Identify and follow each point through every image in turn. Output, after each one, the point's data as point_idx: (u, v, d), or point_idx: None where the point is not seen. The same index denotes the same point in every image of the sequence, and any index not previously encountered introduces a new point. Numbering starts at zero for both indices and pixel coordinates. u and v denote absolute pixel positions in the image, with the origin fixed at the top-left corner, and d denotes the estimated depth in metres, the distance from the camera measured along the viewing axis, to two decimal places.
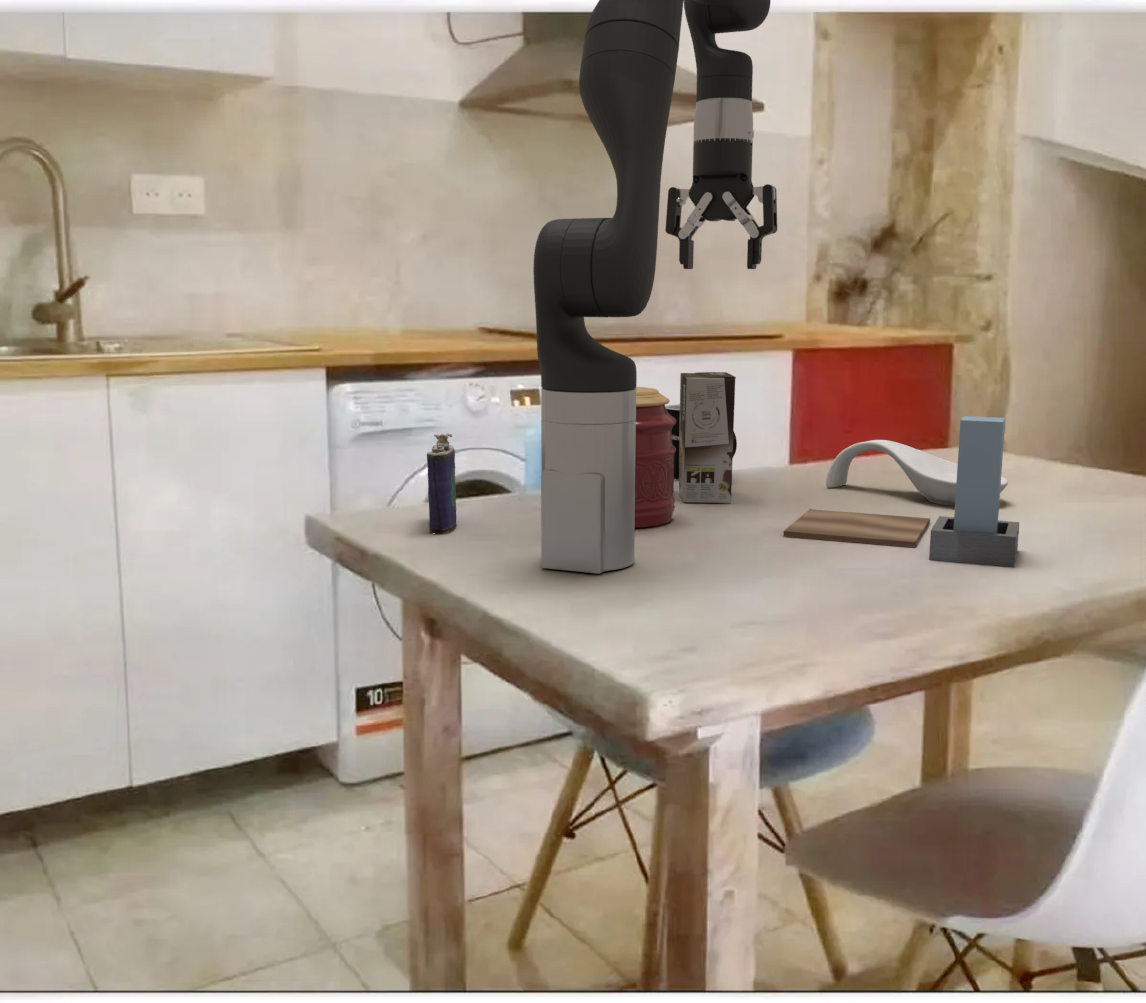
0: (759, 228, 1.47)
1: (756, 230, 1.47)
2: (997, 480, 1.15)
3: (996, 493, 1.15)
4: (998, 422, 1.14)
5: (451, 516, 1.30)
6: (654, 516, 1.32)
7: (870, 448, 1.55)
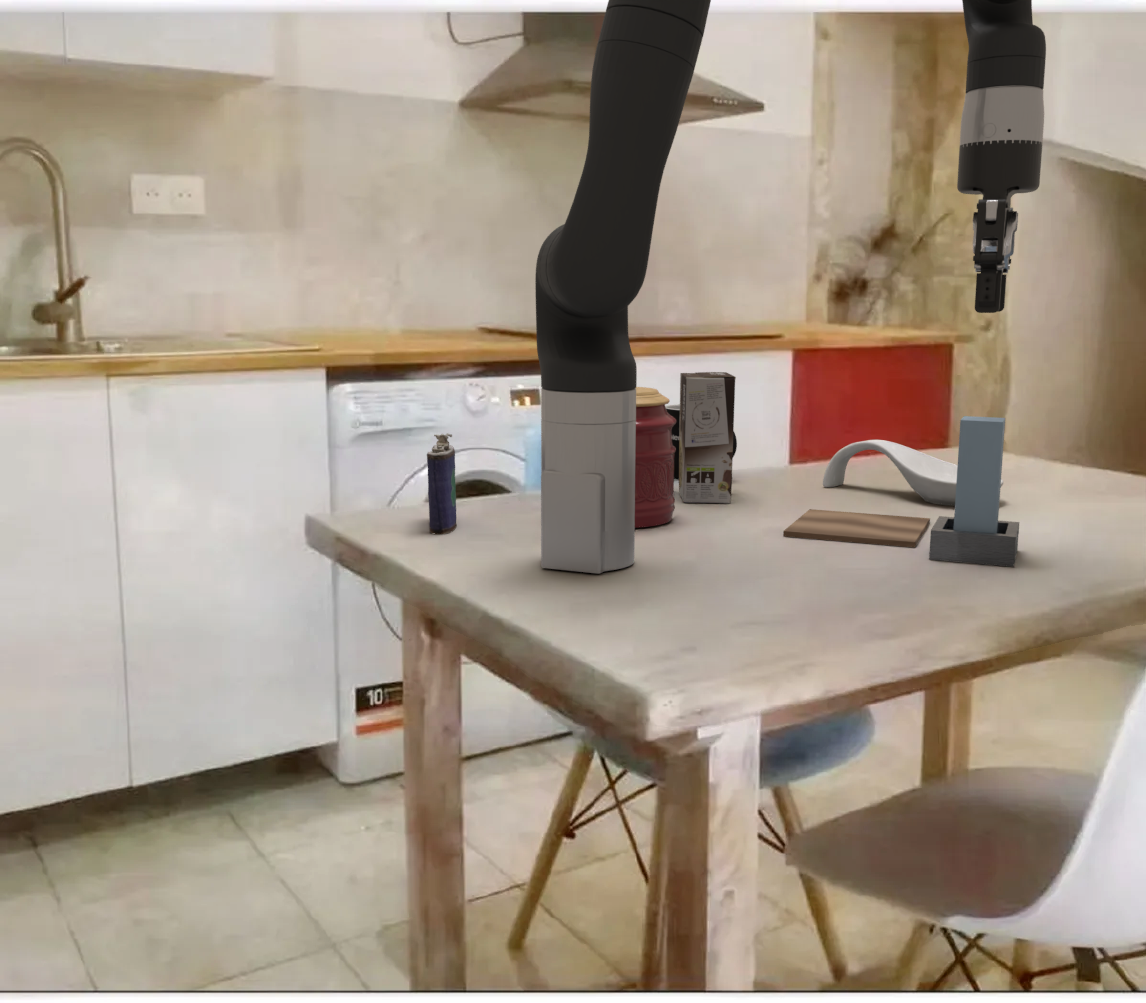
0: None
1: (1008, 263, 1.18)
2: (997, 480, 1.15)
3: (996, 493, 1.15)
4: (998, 422, 1.14)
5: (451, 516, 1.30)
6: (654, 516, 1.32)
7: (866, 448, 1.55)
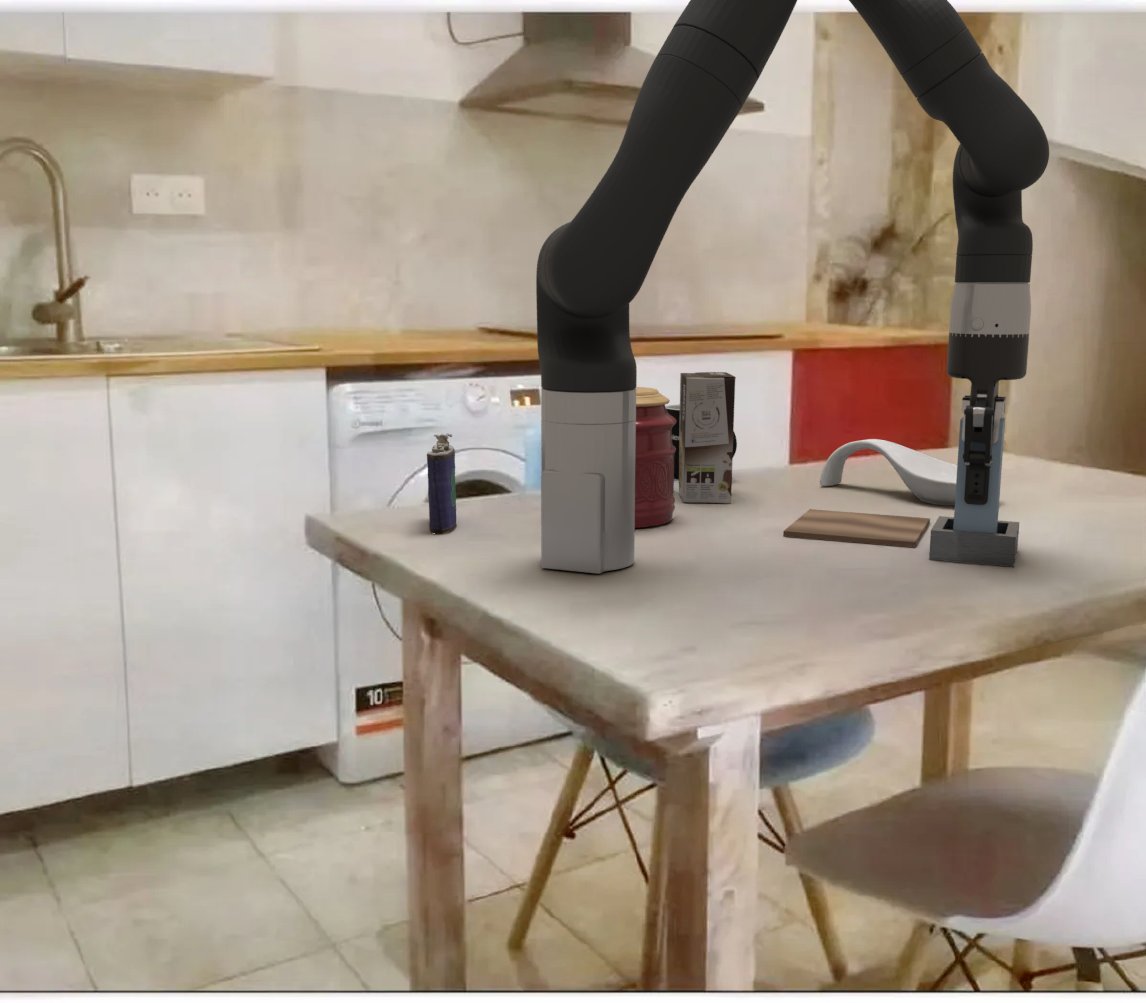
0: None
1: None
2: (997, 480, 1.15)
3: (996, 493, 1.15)
4: None
5: (451, 516, 1.30)
6: (654, 516, 1.32)
7: (863, 447, 1.55)
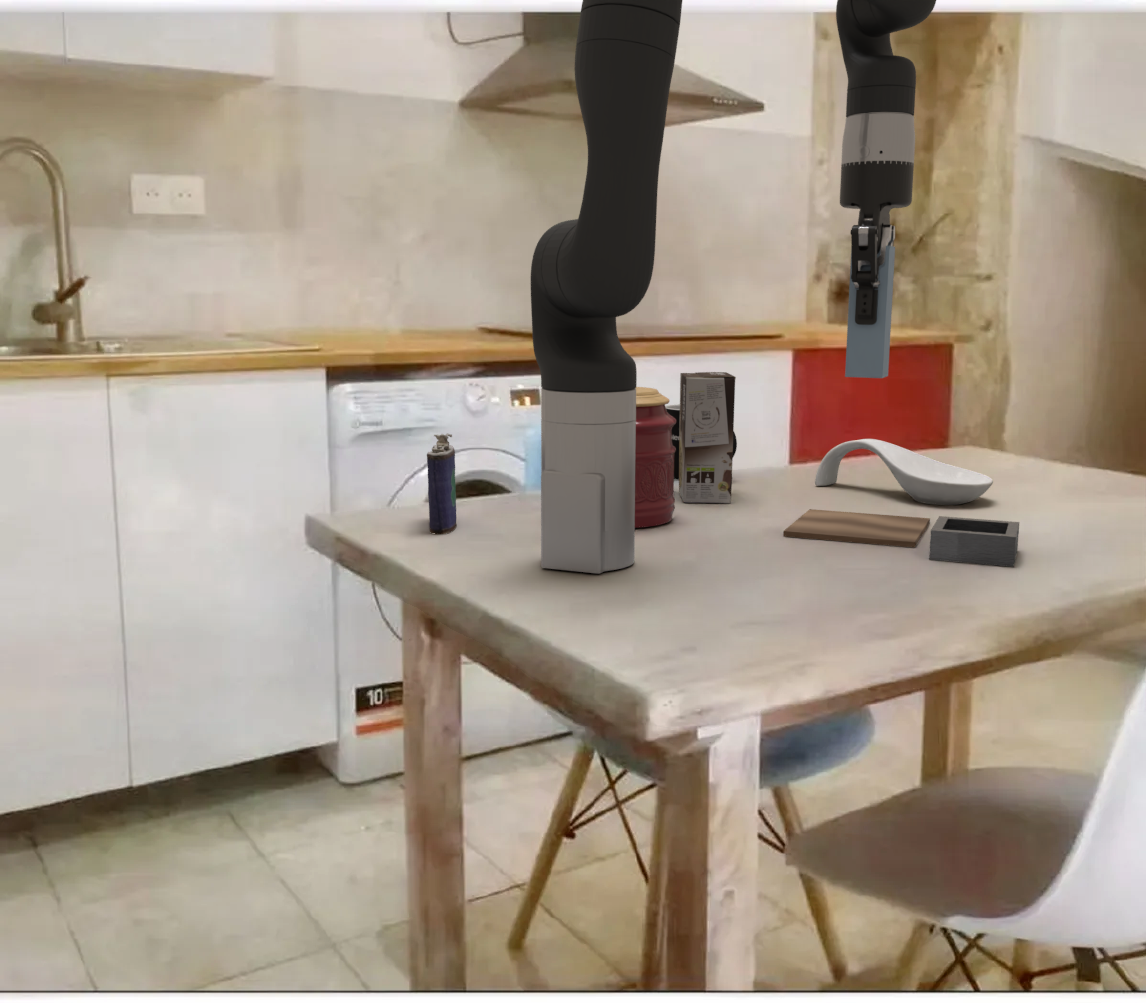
0: None
1: None
2: (885, 301, 1.24)
3: (884, 313, 1.24)
4: None
5: (451, 516, 1.30)
6: (654, 516, 1.32)
7: (858, 447, 1.56)
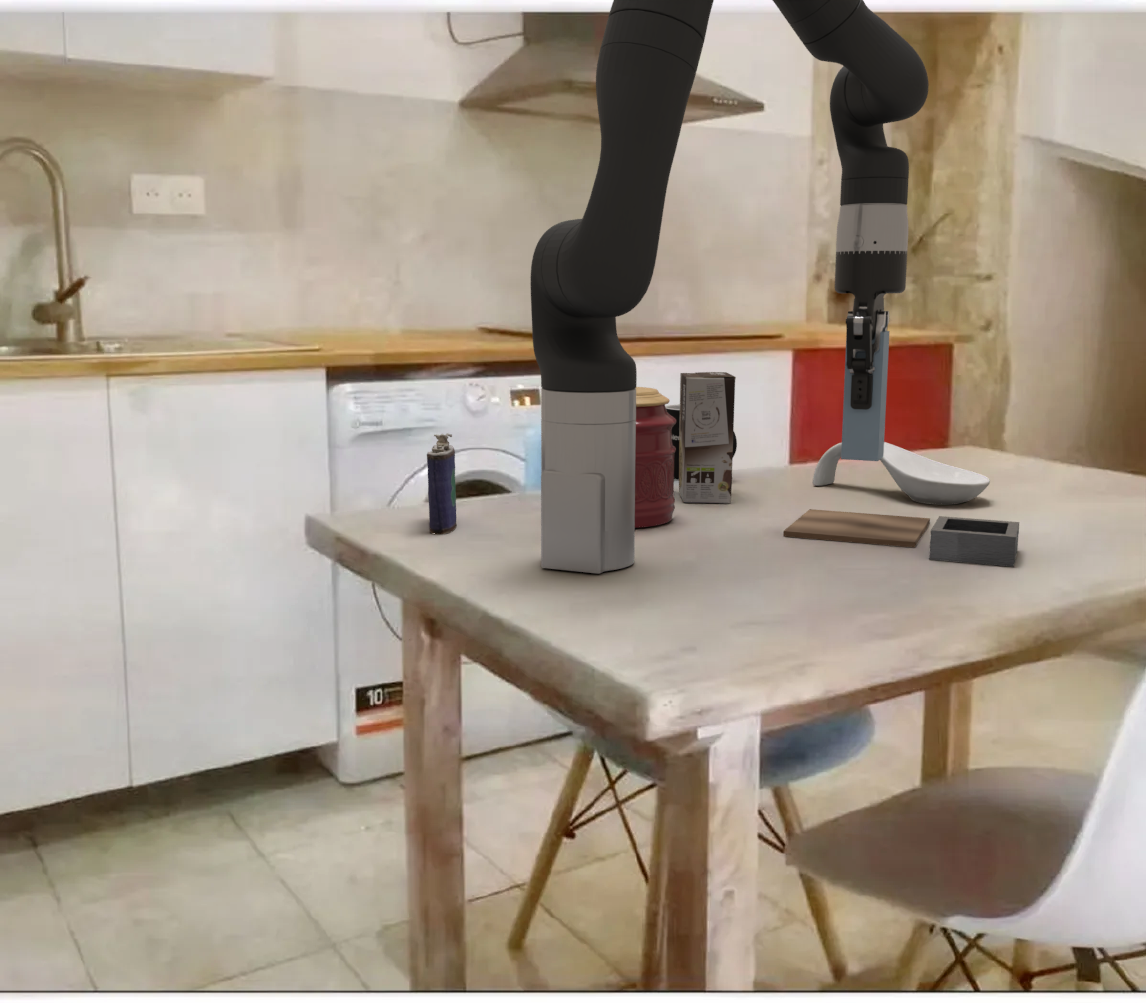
0: None
1: None
2: (880, 386, 1.26)
3: (879, 398, 1.26)
4: None
5: (451, 516, 1.30)
6: (654, 516, 1.32)
7: None
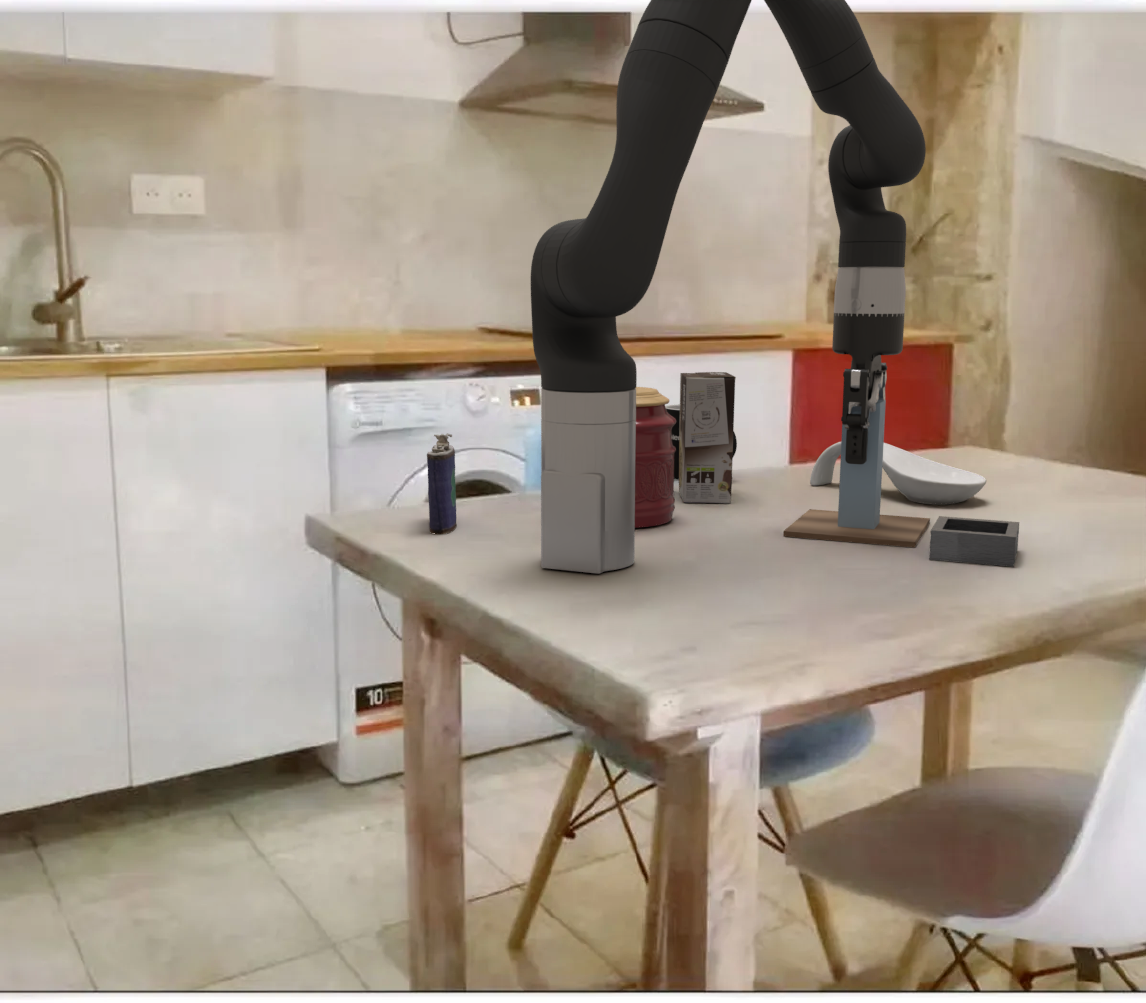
0: None
1: None
2: (876, 456, 1.27)
3: (875, 468, 1.27)
4: None
5: (451, 516, 1.30)
6: (654, 516, 1.32)
7: None
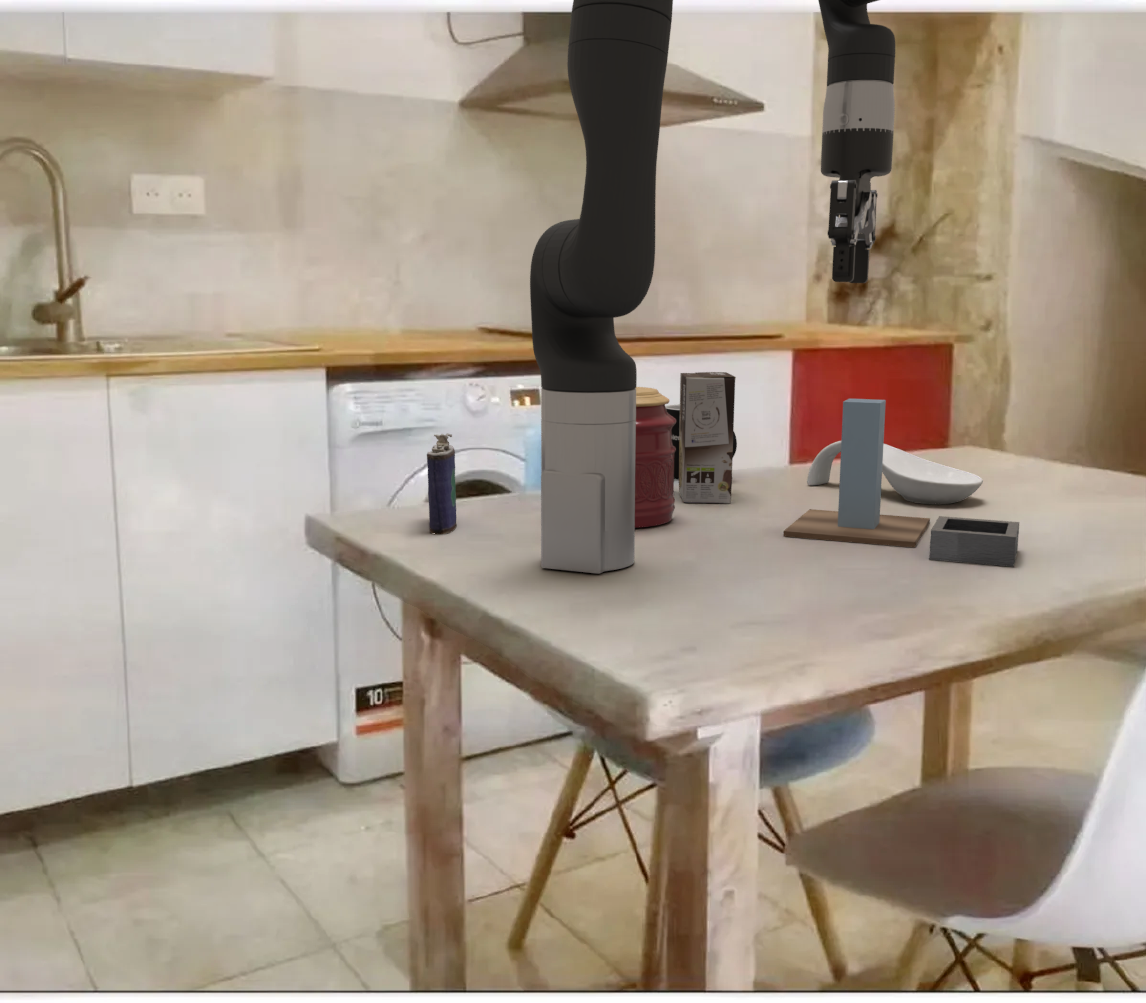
0: None
1: (871, 240, 1.31)
2: (876, 456, 1.27)
3: (875, 468, 1.27)
4: (876, 403, 1.26)
5: (451, 516, 1.30)
6: (654, 516, 1.32)
7: None
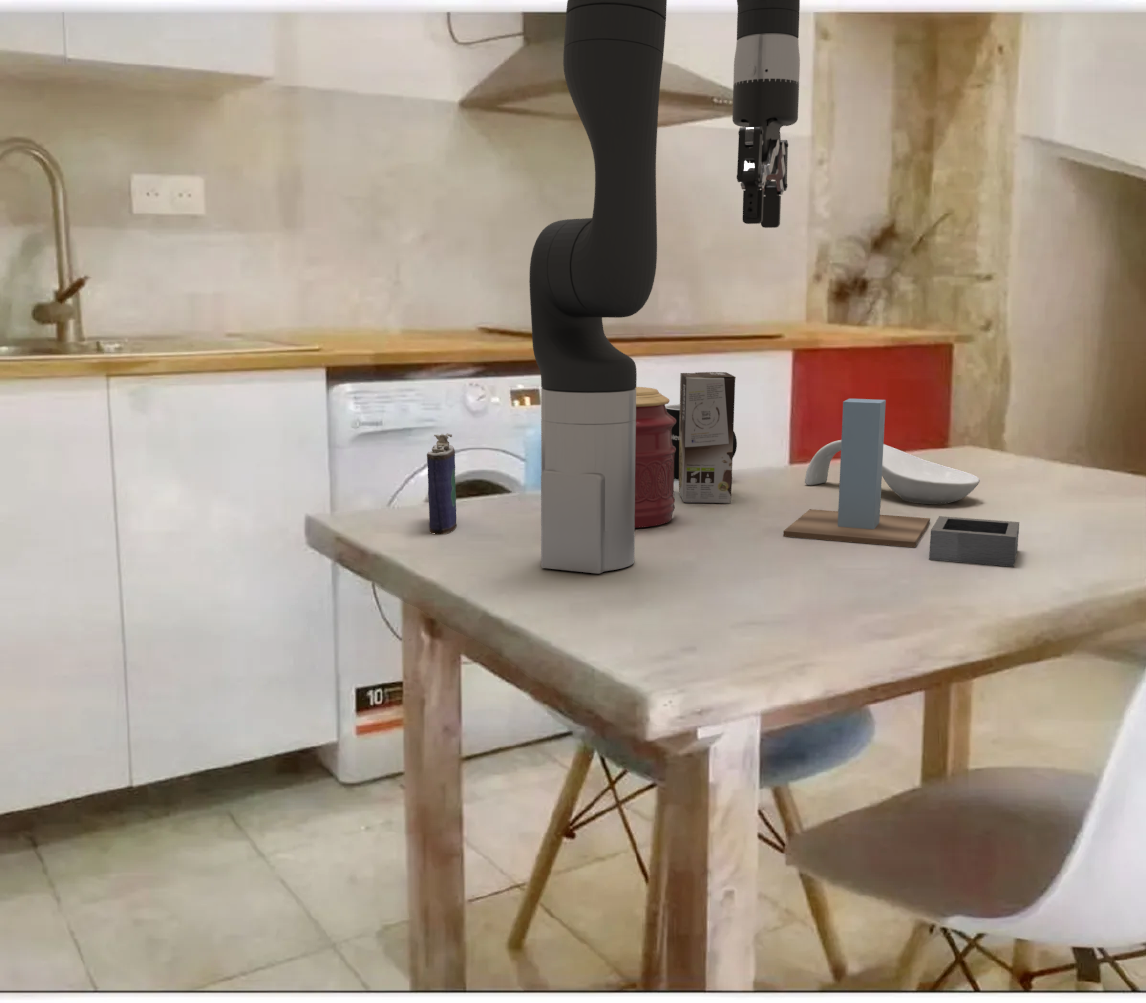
0: None
1: (783, 187, 1.40)
2: (876, 456, 1.27)
3: (875, 468, 1.27)
4: (876, 403, 1.26)
5: (451, 516, 1.30)
6: (654, 516, 1.32)
7: None
